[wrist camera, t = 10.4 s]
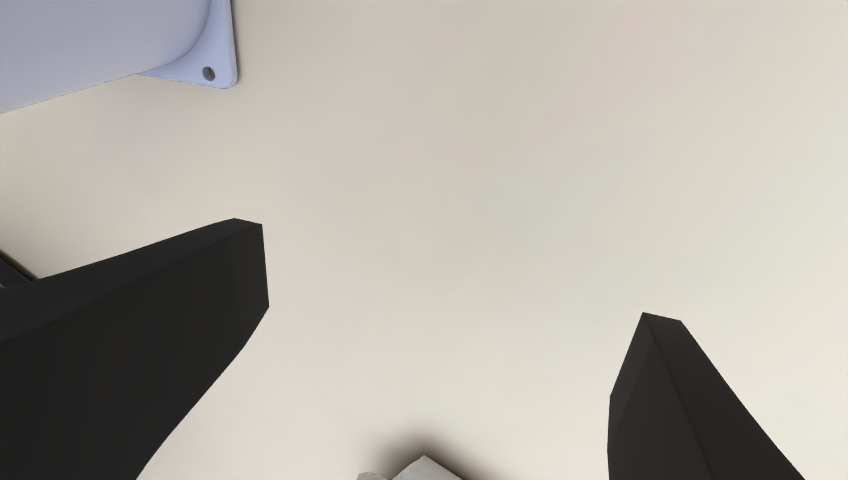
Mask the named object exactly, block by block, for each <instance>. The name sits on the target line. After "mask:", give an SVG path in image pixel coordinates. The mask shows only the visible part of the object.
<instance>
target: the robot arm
mask: <svg viewBox="0 0 848 480" xmlns="http://www.w3.org/2000/svg"><path fill="white" fill-rule="evenodd" d="M209 67H210V68H211V69H212V70H213V71H214V74H215V78H213V77H212V76H211V75H210V73H209ZM132 74H139V75H145V76H151V77H157V78H163V79H169V80H174V81H180V82H186V83H192V84H198V85H204V86H209V87H215V88H221V89H227V88H230V87H232V86H233V85H235V84H236V82H237V66H236V56H235V46H234V36H233V26H232V16H231V6H230V0H0V114H2V113H5V112H8V111H12V110H15V109H18V108H22V107H25V106H28V105H32V104H35V103H38V102H42V101H45V100H48V99H52V98H55V97H58V96H62V95H65V94H68V93H72V92H75V91H78V90H82V89H85V88H88V87H92V86H95V85H98V84H102V83H105V82H108V81H112V80H115V79H118V78H122V77H125V76H128V75H132ZM268 308H269V299H268V287H267V275H266V264H265V252H264V241H263V229H262V224H258V223H254V222H250V221H245V220H241V219H236V218H233V219H229V220H224V221H221V222H217V223H214V224H210V225H207V226H204V227H201V228H198V229H195V230H192V231H189V232H186V233H183V234H180V235H177V236H174V237H171V238H168V239H165V240H162V241H159V242H156V243H153V244H150V245H147V246H145V247H142V248H139V249H136V250H133V251H130V252H127V253H124V254H121V255H118V256H114V257H111V258H108V259H105V260H101V261H98V262H95V263H92V264H89V265H85V266H82V267H79V268H76V269H72V270H69V271H66V272H63V273H59V274H56V275H52V276H49V277H45V278H41V279H38V280H34V281H30V282H26V283H22V284H18V285H14V286H10V287H6V288H1V289H0V480H136V479H137V477H138V476H139V474H140V473H141V472H142V470H143V469H144V467H145V466H146V464H147V463H148V462H149V460H150V459H151V457H152V456H153V455H154V454H155V452H156V451H157V450H158V449H159V447H160V446H161V445H162V443H163V442H164V441H165V440H166V438H167V437H168V436H169V435H170V434H171V432H172V431H173V430H174V429H175V428H176V427H177V425H178V424H179V423H180V422H181V421H182V420H183V418H184V417H185V416H186V415H187V414H188V413H189V411H190V410H191V409H192V408H193V407H194V406H195V404H196V403H197V402H198V401H199V400H200V398H201V397H202V396H203V395H204V394H205V393H206V391H207V390H208V389H209V388H210V387H211V386H212V384H213V383H214V382H215V381H216V380H217V379H218V377H219V376H220V375H221V374H222V373H223V372H224V370H225V369H226V368H227V367H228V366H229V364H230V363H231V362H232V361H233V360H234V358H235V357H236V356H237V355H238V354H239V352H240V351H241V350H242V349H243V347H244V346H245V344H246V343H247V341H248V340H249V338H250V337H251V335H252V334H253V332H254V331H255V329H256V328H257V326H258V324H259V323H260V321H261V319H262V318H263V316H264V314H265V313H266V311H267V310H268ZM607 454H608V469H609V480H805V479H804V478H803V477H802V475H801V474H800V473H799V472H798V471H797V470H796V468H795V467H794V466H793V465H792V464H791V463H790V462H789V460H788V459H787V458H786V457H785V456H784V455H783V453H782V452H781V451H780V450H779V449H778V448H777V446H776V445H775V444H774V443H773V441H772V440H771V439H770V438H769V437H768V435H767V434H766V433H765V432H764V430H763V429H762V428H761V427H760V426H759V424H758V423H757V422H756V420H755V419H754V418H753V417H752V415H751V414H750V413H749V412H748V410H747V409H746V408H745V406H744V405H743V404H742V403H741V401H740V400H739V399H738V397H737V396H736V395H735V393H734V392H733V391H732V389H731V388H730V387H729V385H728V384H727V383H726V381H725V380H724V379H723V377H722V376H721V375H720V373H719V372H718V371H717V369H716V368H715V366H714V365H713V364H712V362H711V361H710V360H709V358H708V357H707V356H706V354H705V353H704V351H703V350H702V349H701V347H700V346H699V344H698V343H697V342H696V340H695V339H694V338H693V336H692V335H691V334H690V332H689V331H688V329H687V328H686V327H685V326H684V324H683V323H682V322H681V321H680V320H676V319H671V318H667V317H663V316H658V315H654V314H649V313H645V312H643V313H642V315H641V318H640V320H639V323H638V326H637V328H636V331H635V333H634V336H633V338H632V341H631V344H630V346H629V349H628V351H627V354H626V357H625V359H624V362H623V364H622V367H621V369H620V372H619V375H618V377H617V380H616V382H615V385H614V388H613V390H612V393H611V395H610V406H609V422H608V444H607Z"/></svg>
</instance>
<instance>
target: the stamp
mask: <svg viewBox="0 0 848 480" xmlns="http://www.w3.org/2000/svg"><path fill="white" fill-rule="evenodd" d="M357 480H389V479H386V478H384V477H381V476H379V475H376V474H374V473H370V472H366V473H362V474H360V475H359V476H358V478H357ZM392 480H462V479H460V478H459V477H457V476H456V475H454V474H453V473H451V472H449V471H448V470H446V469H445V468H443V467H442V466H440V465H439V464H437V463H436V462H434V461H433V460H431V459H429V458H428V457H426V456H425V455H423V456H422V457H421V458H420V459H418V460H417V461H415V462H413V463H411V464H410V465H409V466H408V467H406V468H405V469H404V470H402V471H401V472H400V473H399V474H398V475H397V476H396V477H395V478H393V479H392Z"/></svg>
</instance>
